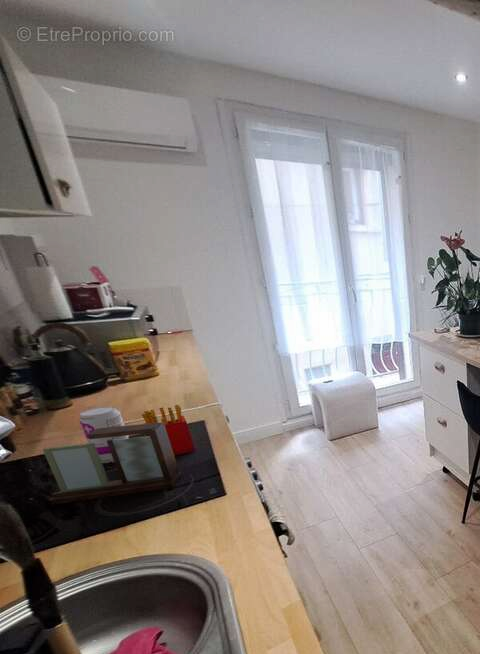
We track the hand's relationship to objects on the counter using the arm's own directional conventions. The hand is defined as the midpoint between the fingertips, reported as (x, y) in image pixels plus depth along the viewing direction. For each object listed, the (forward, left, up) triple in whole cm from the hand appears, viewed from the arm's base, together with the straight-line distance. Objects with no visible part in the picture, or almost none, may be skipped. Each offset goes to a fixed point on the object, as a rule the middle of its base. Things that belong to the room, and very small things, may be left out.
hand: (5, 458), depth 94 cm
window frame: (+13, -11, -13) cm, 21 cm away
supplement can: (+20, +12, -13) cm, 27 cm away
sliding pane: (+9, -7, -11) cm, 16 cm away
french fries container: (+30, +1, -13) cm, 33 cm away
